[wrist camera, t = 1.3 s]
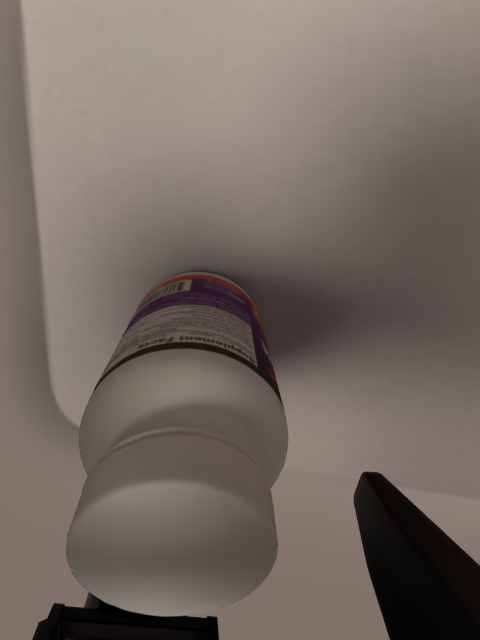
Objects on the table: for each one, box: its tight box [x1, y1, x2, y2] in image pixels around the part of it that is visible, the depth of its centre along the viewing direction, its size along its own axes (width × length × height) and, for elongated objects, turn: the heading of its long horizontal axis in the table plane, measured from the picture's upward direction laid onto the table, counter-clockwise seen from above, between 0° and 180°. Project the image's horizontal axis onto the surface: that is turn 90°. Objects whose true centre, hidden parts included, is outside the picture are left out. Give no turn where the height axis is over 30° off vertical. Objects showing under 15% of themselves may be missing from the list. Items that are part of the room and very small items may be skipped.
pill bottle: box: [66, 272, 288, 616], centre depth 11 cm, size 5×5×10 cm
